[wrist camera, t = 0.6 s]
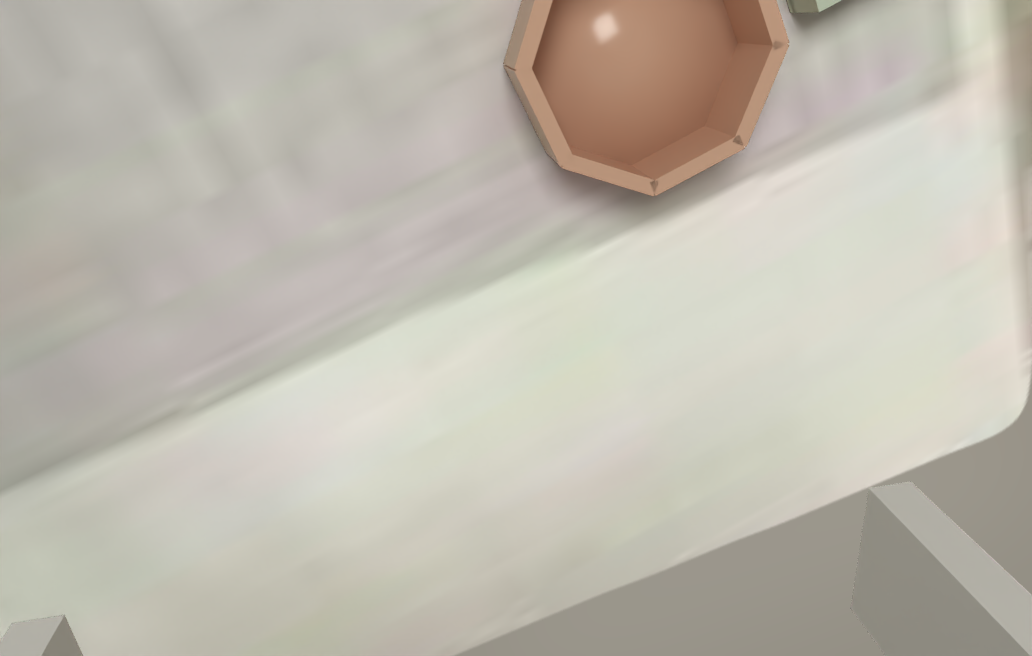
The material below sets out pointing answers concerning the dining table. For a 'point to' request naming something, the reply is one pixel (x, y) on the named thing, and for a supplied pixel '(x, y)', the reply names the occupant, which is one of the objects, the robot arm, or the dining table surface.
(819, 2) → the green square tray
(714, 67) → the bin
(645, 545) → the dining table surface
